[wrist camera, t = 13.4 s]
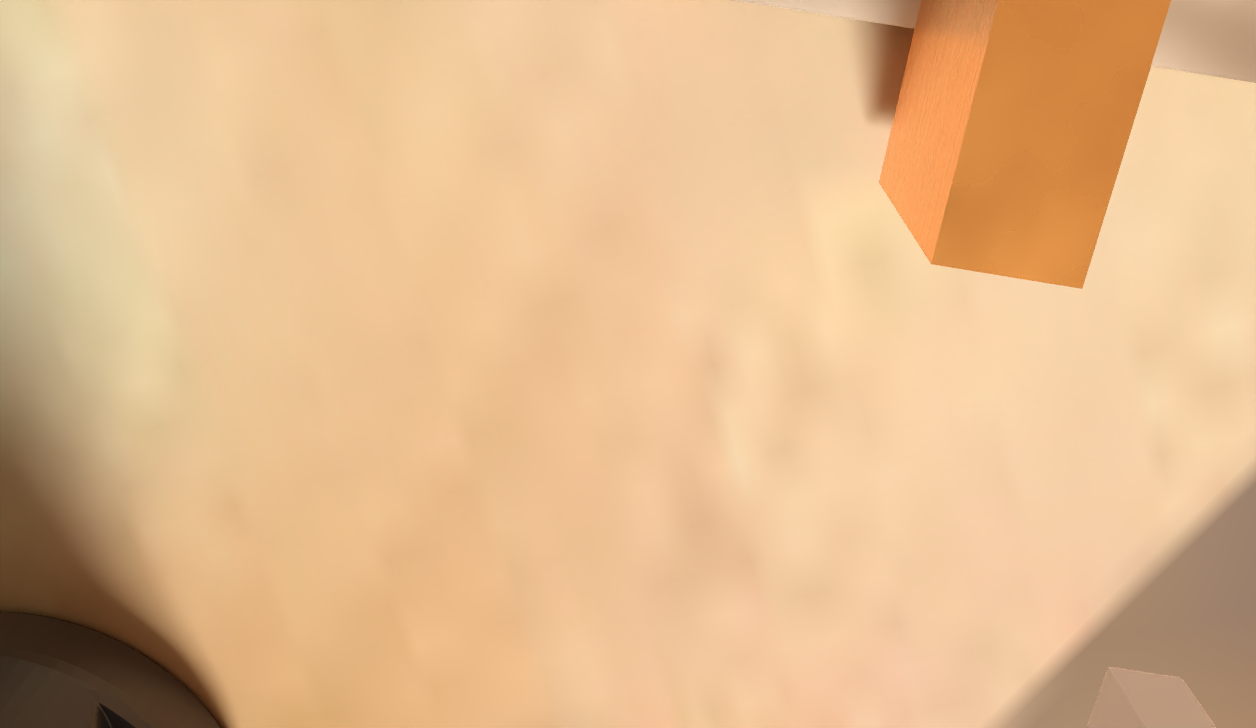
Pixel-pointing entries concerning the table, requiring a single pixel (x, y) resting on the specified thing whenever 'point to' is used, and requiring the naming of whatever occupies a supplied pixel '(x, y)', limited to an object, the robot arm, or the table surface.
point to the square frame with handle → (1017, 129)
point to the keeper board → (1190, 41)
